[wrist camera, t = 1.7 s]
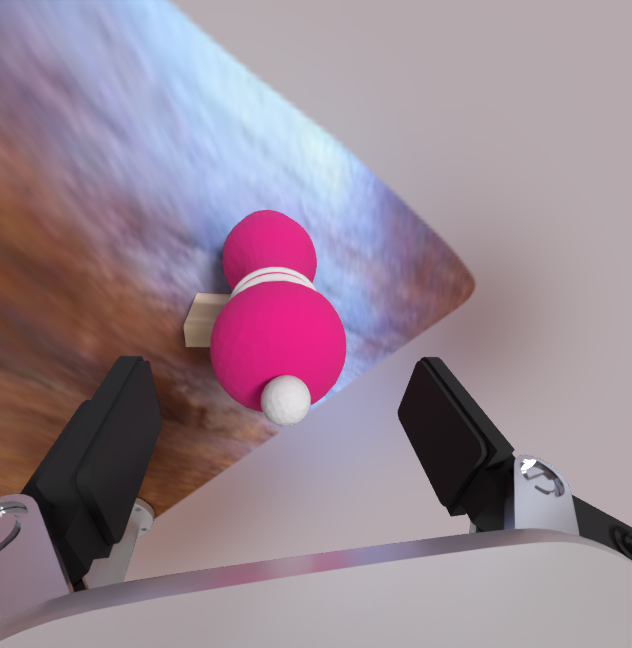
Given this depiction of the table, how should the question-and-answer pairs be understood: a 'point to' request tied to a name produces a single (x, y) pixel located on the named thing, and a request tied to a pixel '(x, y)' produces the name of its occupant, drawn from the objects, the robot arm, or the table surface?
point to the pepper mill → (275, 321)
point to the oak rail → (203, 318)
